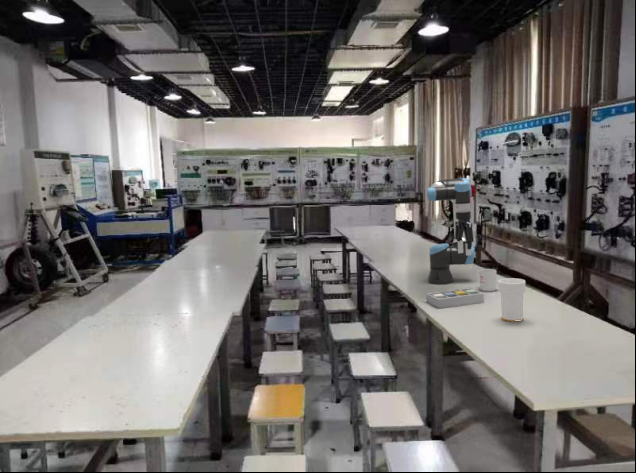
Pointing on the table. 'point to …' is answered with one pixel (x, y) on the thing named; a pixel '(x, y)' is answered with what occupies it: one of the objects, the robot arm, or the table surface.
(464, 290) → the key sage
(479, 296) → the keypad
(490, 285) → the mug
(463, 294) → the key mustard
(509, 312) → the cup
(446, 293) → the key slate
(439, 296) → the key ivory
